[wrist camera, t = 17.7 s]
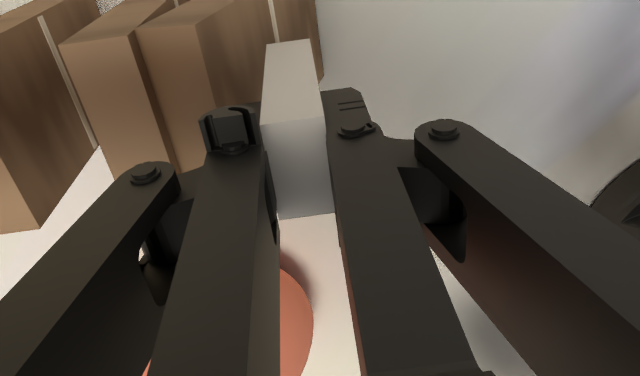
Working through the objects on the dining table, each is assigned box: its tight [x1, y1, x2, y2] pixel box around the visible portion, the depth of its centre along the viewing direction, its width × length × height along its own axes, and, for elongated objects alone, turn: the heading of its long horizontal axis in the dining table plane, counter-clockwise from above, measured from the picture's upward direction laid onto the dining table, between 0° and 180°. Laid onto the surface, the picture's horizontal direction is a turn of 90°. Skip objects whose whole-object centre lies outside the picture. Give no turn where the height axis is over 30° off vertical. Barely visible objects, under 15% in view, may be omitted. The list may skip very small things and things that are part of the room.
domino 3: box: [134, 0, 324, 173], centre depth 20 cm, size 6×2×12 cm, turn 7°
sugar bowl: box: [142, 269, 313, 376], centre depth 31 cm, size 12×14×10 cm
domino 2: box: [58, 0, 190, 180], centre depth 20 cm, size 6×2×12 cm, turn 7°
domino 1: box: [0, 0, 101, 234], centre depth 20 cm, size 6×2×12 cm, turn 7°
